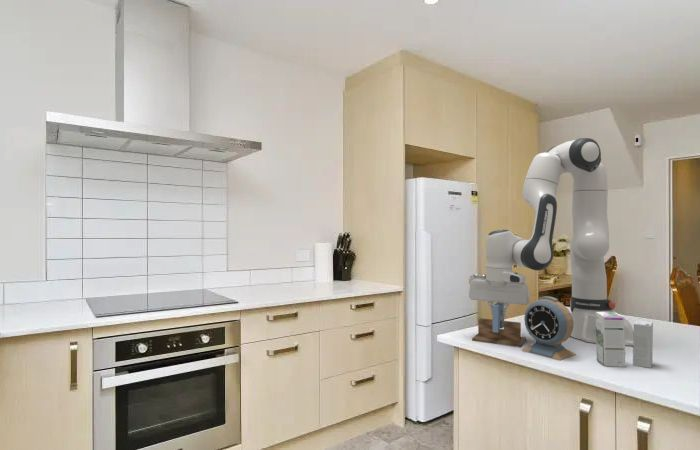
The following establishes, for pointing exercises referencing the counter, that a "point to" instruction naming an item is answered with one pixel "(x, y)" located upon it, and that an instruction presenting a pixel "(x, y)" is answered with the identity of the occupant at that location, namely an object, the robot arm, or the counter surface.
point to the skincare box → (643, 343)
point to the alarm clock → (549, 328)
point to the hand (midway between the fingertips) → (498, 314)
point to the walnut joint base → (499, 333)
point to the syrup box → (610, 339)
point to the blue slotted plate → (498, 317)
